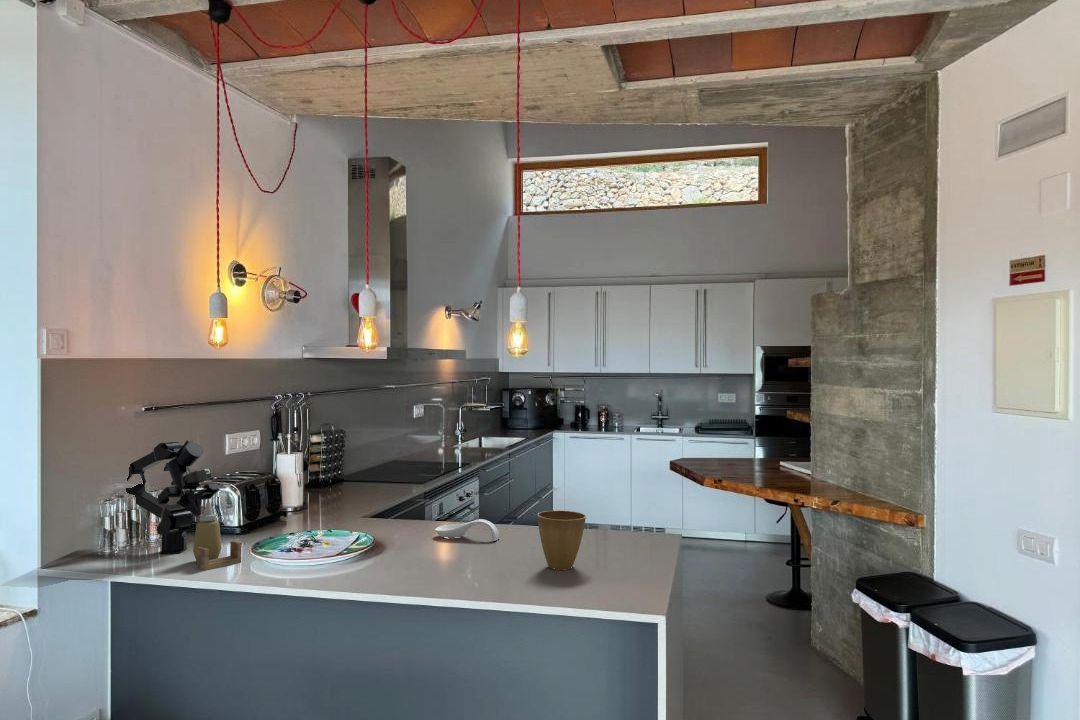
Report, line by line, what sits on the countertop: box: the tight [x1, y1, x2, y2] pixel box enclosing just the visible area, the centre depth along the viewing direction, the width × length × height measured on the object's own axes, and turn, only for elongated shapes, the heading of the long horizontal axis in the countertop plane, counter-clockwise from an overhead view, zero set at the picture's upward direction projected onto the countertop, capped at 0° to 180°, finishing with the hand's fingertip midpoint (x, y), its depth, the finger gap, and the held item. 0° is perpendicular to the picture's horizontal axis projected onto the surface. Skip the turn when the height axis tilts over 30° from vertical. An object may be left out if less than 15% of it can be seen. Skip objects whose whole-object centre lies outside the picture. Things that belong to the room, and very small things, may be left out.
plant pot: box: [536, 510, 587, 570], centre depth 218 cm, size 15×15×16 cm
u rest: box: [196, 540, 243, 571], centre depth 217 cm, size 4×12×6 cm, turn 144°
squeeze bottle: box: [192, 502, 222, 562], centre depth 221 cm, size 8×8×18 cm
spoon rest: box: [434, 518, 500, 541], centre depth 256 cm, size 24×12×7 cm, turn 74°
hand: (198, 515), depth 226 cm, fingers closed
